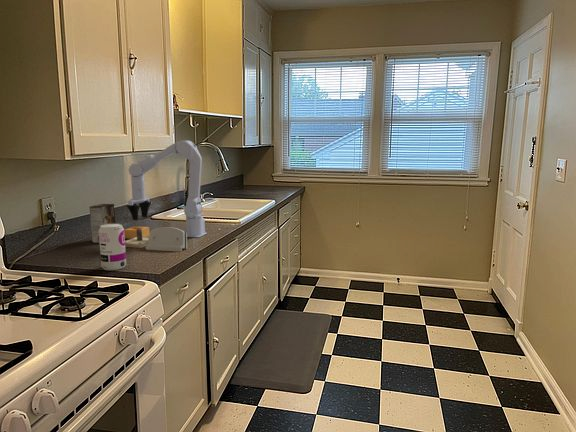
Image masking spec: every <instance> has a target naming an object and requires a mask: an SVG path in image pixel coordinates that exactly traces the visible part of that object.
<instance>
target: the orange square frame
mask: <svg viewBox="0 0 576 432" xmlns="http://www.w3.org/2000/svg"><path fill="white" fill-rule="evenodd" d="M137 229H142V237H149V236H150V232H151V231H150V227H149V226H131V227H128V228H126V229H125V228H124V235H125V239H128V240H130V239H133V238H135V237H137Z"/></svg>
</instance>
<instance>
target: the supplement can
mask: <svg viewBox="0 0 576 432" xmlns="http://www.w3.org/2000/svg"><path fill="white" fill-rule="evenodd" d="M124 230H125V228H124V227H123V224H121V223H115V224H105V225H101V226H100V229H99V242H100V243H99V252H100V264H101V265H100V266H101V268H102V269H103V270H105V271H117V270H121V269H124V268H125V266H127V255H126V254H127V253H126V247H125V241H126V240H125V239H126V238H125V235H124Z"/></svg>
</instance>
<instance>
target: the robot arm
mask: <svg viewBox="0 0 576 432" xmlns="http://www.w3.org/2000/svg"><path fill="white" fill-rule="evenodd" d="M174 154H179V155H181V156H183V157H184V158H186V159H187V160H188V161H189V164H190V165H189V179H188V196H187V200H186V204H185V206H184V208H183V213H184V215H185V229H186V231H185V232H186V233H187V238H201V237H203V236H205V235H207V233H208V232H206V224H205V223H206V221H205V218H204V217H203V215H202V214H201V213H202V211H203V205H202V199H201V196H200V195H201V181H202V180H201V179H202V168H203V167H202V166H203V157H202V155H201V154H200V151H199V149H198V147H197V145H196V144H195V143H194V142H193V141H191V140H190V139H189V140H188V139H187V140H183V139H182V140H179V141H177V142H174V143H172V144H170V145H168V146H167V147H166V148H165V149H163V150H161V151H159V152H158V153H157V154H155V155H154V154H150V155H149V154H145V157H144V158H142V159H141V160H140V159H139V160H137V161H136V162H137V163H132V164H131V165H129V168H128V173H129V175H130V177H131V178H130V181H131V194H132V195H131V196H132V198H130V200H128V201H127V205H126V208H127V209H128V210H129V212H130V215H131V218H132V220H133V221H138V220H139V210H140V213H141V217H142V218H148V213H149V209H150V206H151V205H152V202H151V201H150V197H149V196H146V190H145V189H146V185H145V174H146V173H148V172H149V171H151V170H152V169H154V168H155V167H157V166H158V165H159V162H160V161H162V160H165V159H166V158H168V157H170V156H172V155H174Z"/></svg>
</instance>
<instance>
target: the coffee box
mask: <svg viewBox="0 0 576 432" xmlns="http://www.w3.org/2000/svg"><path fill="white" fill-rule="evenodd" d="M115 212H116V211H115V203H99V204H95V205H91V206H89V216H90V227H91V239H92V243H98V244H100V242H99V229H100V226H101V225H105V224H116V215H115V214H116V213H115Z"/></svg>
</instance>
